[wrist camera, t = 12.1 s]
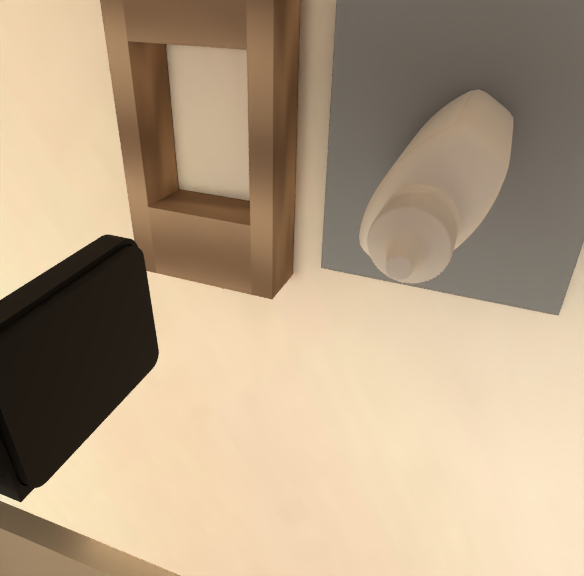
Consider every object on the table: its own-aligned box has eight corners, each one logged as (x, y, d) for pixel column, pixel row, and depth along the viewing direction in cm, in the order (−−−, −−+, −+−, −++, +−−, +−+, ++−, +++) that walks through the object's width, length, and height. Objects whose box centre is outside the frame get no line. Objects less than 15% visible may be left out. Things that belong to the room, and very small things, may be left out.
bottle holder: (134, -60, 24) (90, -66, 22) (301, -60, 22) (274, -66, 19) (167, 248, 32) (138, 268, 30) (292, 274, 30) (272, 299, 28)
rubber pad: (341, -31, 22) (338, -32, 21) (670, -25, 18) (673, -26, 18) (323, 264, 29) (321, 267, 29) (558, 311, 25) (558, 315, 25)
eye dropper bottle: (375, 130, 24) (274, 225, 14) (501, 76, 21) (481, 148, 11) (409, 215, 25) (338, 355, 16) (532, 174, 22) (538, 315, 13)
